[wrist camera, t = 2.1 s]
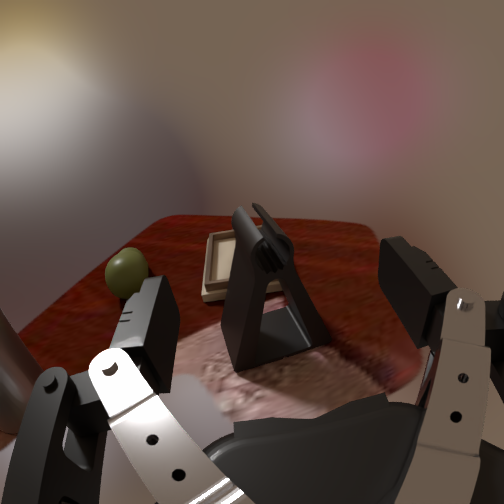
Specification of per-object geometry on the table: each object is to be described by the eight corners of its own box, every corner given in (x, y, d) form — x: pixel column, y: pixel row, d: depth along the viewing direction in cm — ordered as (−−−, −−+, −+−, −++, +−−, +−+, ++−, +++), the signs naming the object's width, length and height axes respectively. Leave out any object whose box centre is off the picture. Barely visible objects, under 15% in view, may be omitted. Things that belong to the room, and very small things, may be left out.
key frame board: (203, 302, 34) (199, 287, 33) (209, 244, 45) (206, 232, 44) (293, 288, 34) (292, 273, 33) (277, 233, 45) (276, 221, 44)
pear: (94, 271, 32) (108, 245, 41) (111, 311, 34) (120, 278, 43) (139, 258, 33) (144, 234, 42) (153, 299, 35) (155, 268, 44)
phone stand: (306, 303, 32) (299, 192, 26) (331, 342, 27) (333, 219, 21) (221, 328, 30) (191, 217, 24) (234, 373, 25) (200, 253, 19)
